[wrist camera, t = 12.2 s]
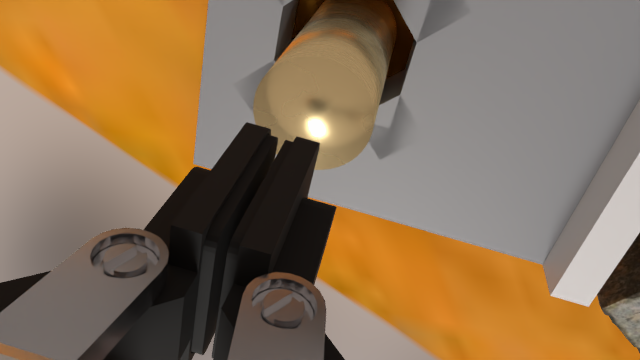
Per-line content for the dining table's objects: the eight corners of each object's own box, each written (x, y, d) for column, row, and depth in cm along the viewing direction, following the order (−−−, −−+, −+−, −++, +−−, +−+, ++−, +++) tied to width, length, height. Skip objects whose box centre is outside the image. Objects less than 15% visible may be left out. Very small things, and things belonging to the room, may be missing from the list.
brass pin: (407, 0, 22) (389, 75, 15) (383, 80, 24) (356, 183, 17) (323, -22, 22) (262, 40, 15) (306, 59, 24) (245, 151, 17)
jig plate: (745, -71, 19) (833, -49, 15) (565, 234, 26) (588, 306, 22) (254, -194, 20) (203, -207, 15) (216, 135, 27) (175, 186, 23)
